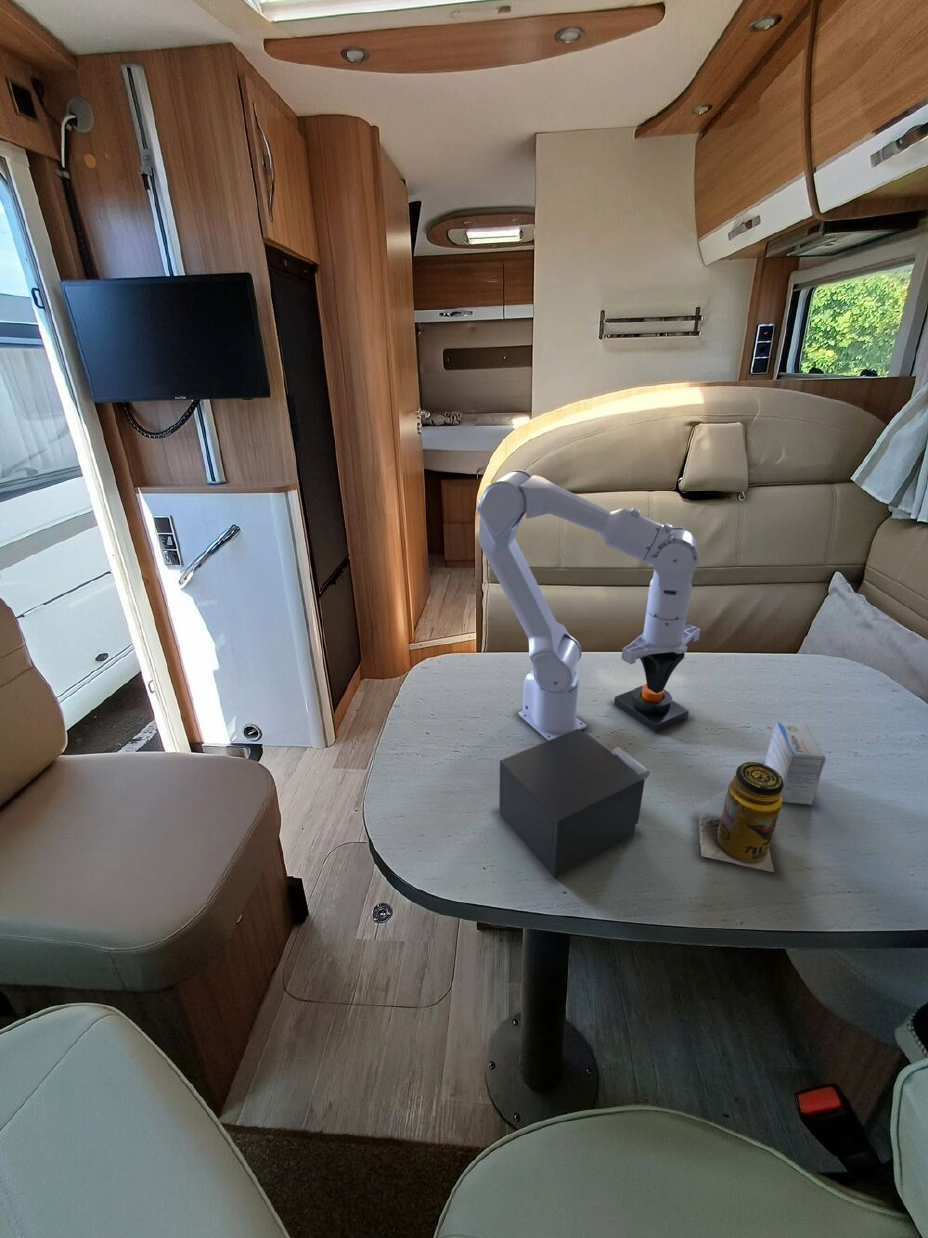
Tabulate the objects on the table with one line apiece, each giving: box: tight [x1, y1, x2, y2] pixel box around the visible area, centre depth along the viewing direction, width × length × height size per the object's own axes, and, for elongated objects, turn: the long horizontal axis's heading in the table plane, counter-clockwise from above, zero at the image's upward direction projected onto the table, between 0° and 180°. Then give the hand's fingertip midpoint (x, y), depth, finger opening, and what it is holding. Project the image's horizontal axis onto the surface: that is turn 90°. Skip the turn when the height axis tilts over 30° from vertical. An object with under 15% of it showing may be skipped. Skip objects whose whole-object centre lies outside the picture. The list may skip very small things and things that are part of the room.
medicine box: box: [764, 721, 826, 806], centre depth 81 cm, size 8×4×9 cm, turn 168°
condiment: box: [697, 761, 784, 873], centre depth 71 cm, size 7×8×12 cm
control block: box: [613, 684, 690, 734], centre depth 100 cm, size 10×8×4 cm
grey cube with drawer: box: [498, 729, 642, 879], centre depth 75 cm, size 14×13×10 cm
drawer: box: [584, 732, 651, 825], centre depth 77 cm, size 17×11×8 cm
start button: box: [642, 683, 665, 702], centre depth 99 cm, size 4×4×2 cm
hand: (654, 689), depth 88 cm, fingers closed
